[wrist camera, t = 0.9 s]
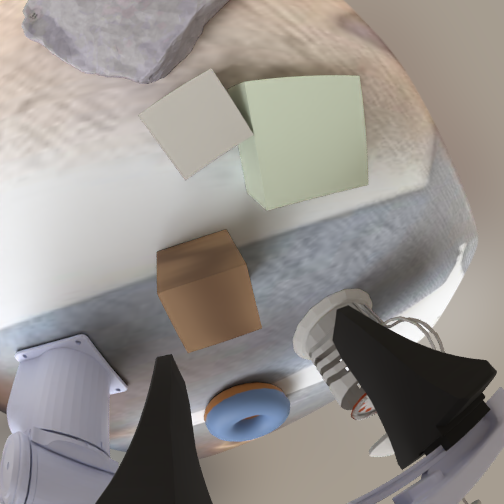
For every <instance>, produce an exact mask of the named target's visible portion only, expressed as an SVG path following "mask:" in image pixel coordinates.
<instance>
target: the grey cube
mask: <svg viewBox="0 0 504 504" xmlns="http://www.w3.org/2000/svg"><path fill="white" fill-rule="evenodd" d="M138 116H139V117H140V119H141V120H142V122H143V123H144V124H145V126H146V127H147V129H148V130H149V131H150V133H151V134H152V135H153V137H154V138H155V140H156V141H157V142H158V144H159V145H160V147H161V148H162V149H163V151H164V152H165V153H166V155H167V156H168V158H169V159H170V160H171V162H172V163H173V164H174V166H175V167H176V169H177V170H178V171H179V173H180V174H181V175H182V177H183V178H184V179H185V180H187V179H188V178H190V177H191V176H192V175H194V174H195V173H197V172H198V171H199V170H201V169H202V168H204V167H205V166H207V165H208V164H210V163H211V162H213V161H214V160H216V159H217V158H218V157H220V156H221V155H223V154H225V153H226V152H228V151H229V150H231V149H232V148H234V147H235V146H237V145H238V144H240V143H242V142H243V141H245V140H246V139H248V138H250V137H251V136H253V135H254V134H253V133H252V131H251V130H250V128H249V126H248V125H247V123H246V121H245V120H244V118H243V117H242V115H241V113H240V112H239V110H238V109H237V107H236V105H235V104H234V102H233V101H232V99H231V97H230V96H229V94H228V93H227V91H226V90H225V88H224V87H223V85H222V84H221V82H220V81H219V79H218V78H217V76H216V75H215V73H214V72H213V70H212V69H209V70H207V71H205V72H204V73H202V74H200V75H198V76H197V77H195V78H193V79H192V80H190V81H188V82H187V83H185V84H183V85H182V86H180V87H179V88H177V89H175V90H174V91H172V92H171V93H169V94H168V95H166V96H165V97H163V98H162V99H160V100H159V101H157V102H156V103H155V104H153V105H152V106H150V107H149V108H147V109H146V110H145V111H143V112H142V113H141V114H139V115H138Z"/></svg>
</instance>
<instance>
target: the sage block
mask: <svg viewBox="0 0 504 504" xmlns="http://www.w3.org/2000/svg"><path fill="white" fill-rule="evenodd" d="M227 90H228V94H229V96H230V97H231V99H232V101H233V102H234V104H235V105H236V107H237V109H238V110H239V112H240V113H241V115H242V117H243V118H244V120H245V121H246V123H247V125H248V126H249V128H250V130H251V131H252V133H253V134H254V135H253V136H251V137H250V138H248V139H246V140H245V141H243V142H242V143H240V144H238V147H239V153H240V158H241V163H242V169H243V174H244V179H245V185H246V190H247V193H248V194H249V195H250V196H251V197H252V198H253V199H254V200H255V201H257V202H258V203H259V204H260V205H261V206H262V207H263V208H264V209H265V210H266V211H268V210H272V209H276V208H279V207H283V206H287V205H290V204H294V203H298V202H302V201H306V200H310V199H313V198H317V197H321V196H325V195H329V194H333V193H337V192H341V191H345V190H349V189H353V188H358V187H362V186H366V185H368V161H367V142H366V129H365V117H364V107H363V99H362V90H361V83H360V76H353V75H317V76H295V77H282V78H271V79H261V80H253V81H246V82H242V83H240V84H238V85H236V86H233V87H231V88H229V89H227Z"/></svg>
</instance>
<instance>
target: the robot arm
mask: <svg viewBox="0 0 504 504" xmlns="http://www.w3.org/2000/svg"><path fill="white" fill-rule="evenodd" d="M77 340H78V341H77ZM79 341H80V342H79ZM332 341H333V343H334V345H335V347H336V349H337V351H338V353H339V354H340V356H341V358H342V360H343V361H344V363H345V364H346V365H347V367H348V368H349V370H350V371H351V373H352V374H353V375H354V377H355V378H356V380H357V381H358V382H359V384H360V385H361V387H362V388H363V390H364V391H365V392H366V394H367V395H368V397H369V399H370V400H371V402H372V404H373V406H374V408H375V410H376V412H377V414H378V416H379V417H380V420H381V422H382V424H383V426H384V428H385V430H386V433H387V435H388V437H389V440H390V442H391V445H392V448H393V450H394V453H395V456H396V459H397V462H398V465H399V466H400V468H401V469H402V470H403V469H404V468H406V467H407V466H409V465H410V464H412V463H413V462H414V461H416V460H417V459H419V458H420V457H422V456H423V455H424V454H425V455H426V457H424V458H423V459H422V460H420V461H419V462H417V463H416V464H415V465H413V466H412V467H410V468H409V469H407V470H406V471H404V472H403V473H401V474H400V475H398V476H396V477H395V478H393V479H392V480H390V481H388V482H386V483H385V484H383V485H381V486H380V487H378V488H376V489H374V490H372V491H371V492H369V493H367V494H365V495H363V496H361V497H359V498H357V499H355V500H353V501H351V502H349V503H347V504H375V503H377V502H379V501H381V500H383V499H384V498H386V497H388V496H389V495H391V494H392V493H394V492H396V491H397V490H399V489H401V488H402V487H404V486H405V485H407V484H408V483H410V482H411V481H413V480H414V479H416V478H417V477H419V476H420V475H421V474H422V477H421V480H420V481H418V482H417V483H415V484H413V485H412V486H410V487H408V488H407V489H405V490H404V491H402V492H401V493H400V494H398V495H397V496H395V497H394V498H393V499H392V500H393V501H394V503H395V504H458V503H459V502H460V501H461V500H462V499H463V498H464V497H465V496H466V495H467V494H468V492H469V491H470V490H471V489H472V488H473V487H474V486H475V484H476V483H477V482H478V481H479V480H480V478H481V477H482V476H483V475H484V473H485V472H486V471H487V470H488V468H489V467H490V466H491V464H492V463H493V461H494V460H495V459H496V457H497V456H498V455H499V453H500V452H501V450H502V449H503V447H504V390H503V388H502V387H500V388H499V389H498V390H497V391H496V392H495V394H494V395H493V396H492V397H491V398H490V399H489V400H488V401H487V403H485V402H484V401H483V399H484V398H485V396H484V394H483V393H482V392H483V391H484V390H485V388H486V387H487V386H488V385H489V383H490V382H491V381H492V380H493V378H494V377H495V375H496V373H497V371H496V370H495V369H494V368H493V367H492V366H491V365H490V363H489V362H488V361H486V360H480V359H471V358H464V357H459V356H455V355H451V354H446V353H443V352H440V351H437V350H434V349H431V348H428V347H426V346H423V345H421V344H418V343H416V342H413V341H411V340H409V339H407V338H405V337H403V336H401V335H399V334H397V333H395V332H393V331H391V330H390V329H388V328H386V327H384V326H382V325H381V324H379V323H377V322H376V321H374V320H372V319H371V318H369V317H367V316H366V315H364V314H362V313H361V312H359V311H357V310H356V309H354V308H352V307H351V306H349V305H347V306H345V307H342V308H339V309H337V311H336V319H335V326H334V332H333V339H332ZM15 357H16V359H17V360H18V361H19V362H20V363H19V366H18V370H17V373H16V376H15V379H14V383H13V386H12V390H11V394H10V397H9V401H8V406H7V419H8V424H9V427H10V430H11V432H12V434H11V435H10V436H9V437H8V439H7V441H6V443H5V446H4V449H3V453H2V458H1V466H0V504H213V503H212V501H211V498H210V496H209V493H208V490H207V487H206V484H205V481H204V478H203V474H202V471H201V467H200V465H199V460H198V457H197V452H196V447H195V440H194V433H193V426H192V418H191V410H190V403H189V399H188V394H187V390H186V385H185V382H184V380H183V378H182V376H181V373H180V371H179V369H178V367H177V365H176V363H175V361H174V358H173V356H172V354H170V355H165V356H160V357H157V358H156V361H155V366H154V371H153V376H152V380H151V384H150V388H149V392H148V395H147V399H146V402H145V406H144V409H143V412H142V415H141V418H140V421H139V424H138V426H137V429H136V432H135V434H134V437H133V439H132V441H131V444H130V446H129V448H128V450H127V452H126V454H125V457H124V458H123V461H122V462H121V464H120V466H119V464H118V462H117V461H115V460H112V459H111V458H110V441H109V398H110V394H115V393H119V392H124V391H126V390H127V385H126V384H125V383H124V382H123V381H122V379H121V378H120V377H119V376H118V375H117V374H116V372H115V371H114V370H113V369H112V368H111V366H110V365H109V364H108V363H107V361H106V360H105V359H104V358H103V356H102V355H101V354H100V353H99V351H98V350H97V349H96V347H95V346H94V345H93V343H92V342H91V341H90V339H89V338H88V337H87V336H86V335H84V334H79V335H76V336H72V337H69V338H65V339H62V340H58V341H55V342H51V343H47V344H44V345H40V346H36V347H33V348H29V349H25V350H22V351H18V352H16V353H15Z"/></svg>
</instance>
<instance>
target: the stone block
mask: <svg viewBox="0 0 504 504" xmlns="http://www.w3.org/2000/svg"><path fill="white" fill-rule="evenodd" d="M228 1H229V0H28V1H27V3H26V5H25V7H24V9H23V13H24V15H25V19H24V21H23V22H22V28H23V30H24V33H25V36H26V37H27V38H29V39H30V40H33V41H35V42H38V43H40V44H42V45H43V46H45V47H46V48H47V49H48V50H49V51H50V52H51V53H52V54H53V55H56V56H57V57H59V58H60V59H61V60H63V61H65V62H66V63H68V64H70V65H72V66H73V67H75V68H77V69H78V70H80V71H82V72H84V73H87V74H97V75H101V76H106V77H124V78H126V79H130V80H132V81H135V82H138V83H143V84H148V83H150V82H151V83H152V82H153V81H156V80H159V79H160V78H164V77H165V76H166V75H167V74H168V73H169V72H171V70H172V69H173V68H174V67H175V66H176V65H177V64H178V63H179V62H180V61H181V60H183V59H184V58H185V57H186V56H187V55H188V54H189V53H190V52H191V51H192V48H193V46H194V45H195V42H196V40H197V39H198V37H199V36H200V35H201V34H202V31H203V27H204V25H205V24H206V23H207V22H208V20H209V19H210V18H212V17H213V16H214V15H215V14H216V13H217V12H218V11H219V10H220V9H221V8H222V7H223V6H224V5H225V4H226V3H227V2H228Z"/></svg>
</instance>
